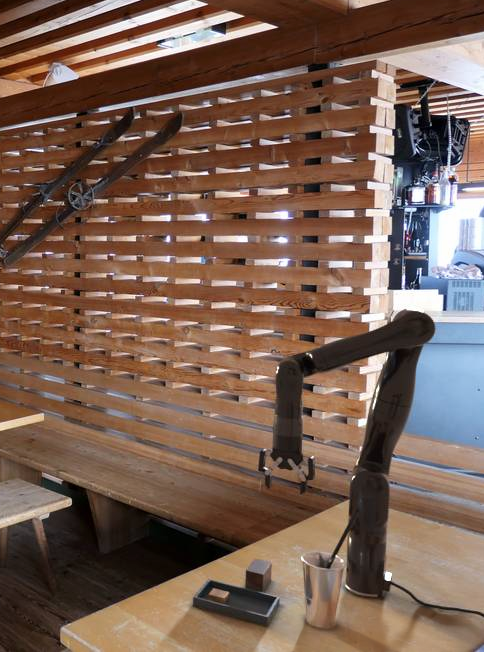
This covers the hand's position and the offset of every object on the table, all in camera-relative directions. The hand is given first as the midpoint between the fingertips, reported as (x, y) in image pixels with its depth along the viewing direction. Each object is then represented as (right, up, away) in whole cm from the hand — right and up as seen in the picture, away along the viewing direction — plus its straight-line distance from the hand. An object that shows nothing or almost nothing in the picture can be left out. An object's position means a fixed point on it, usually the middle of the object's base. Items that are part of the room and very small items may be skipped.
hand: (285, 491), depth 200 cm
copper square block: (-21, -24, -12) cm, 35 cm away
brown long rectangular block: (-8, -24, -4) cm, 26 cm away
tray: (-18, -25, -14) cm, 34 cm away
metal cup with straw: (+1, -26, -22) cm, 34 cm away
